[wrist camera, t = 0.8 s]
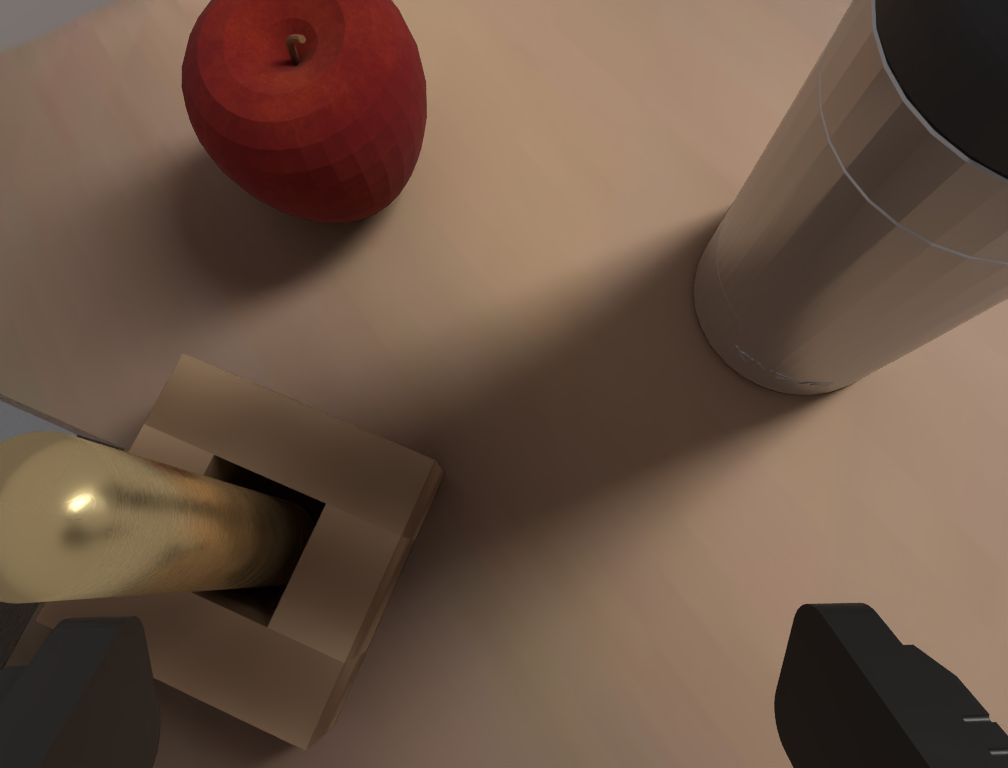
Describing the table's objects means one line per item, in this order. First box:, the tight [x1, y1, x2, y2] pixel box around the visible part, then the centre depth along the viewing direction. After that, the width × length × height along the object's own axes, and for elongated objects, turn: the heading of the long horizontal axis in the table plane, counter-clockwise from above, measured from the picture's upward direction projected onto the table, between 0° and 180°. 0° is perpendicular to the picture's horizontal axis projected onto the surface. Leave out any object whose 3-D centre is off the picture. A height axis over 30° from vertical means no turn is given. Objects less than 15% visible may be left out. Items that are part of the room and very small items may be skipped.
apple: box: [182, 0, 427, 223], centre depth 30 cm, size 10×10×10 cm
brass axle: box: [0, 431, 315, 604], centre depth 23 cm, size 4×4×16 cm
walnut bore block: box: [36, 354, 445, 750], centre depth 29 cm, size 11×11×4 cm
